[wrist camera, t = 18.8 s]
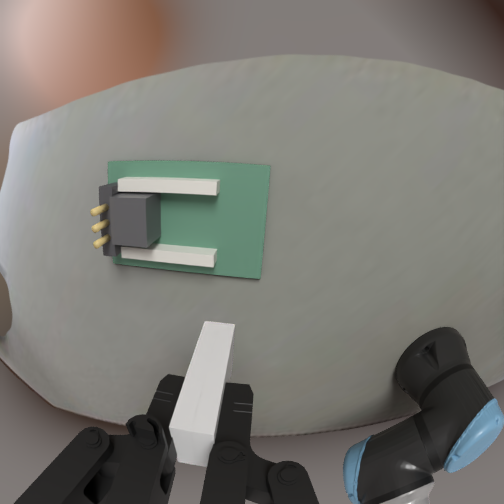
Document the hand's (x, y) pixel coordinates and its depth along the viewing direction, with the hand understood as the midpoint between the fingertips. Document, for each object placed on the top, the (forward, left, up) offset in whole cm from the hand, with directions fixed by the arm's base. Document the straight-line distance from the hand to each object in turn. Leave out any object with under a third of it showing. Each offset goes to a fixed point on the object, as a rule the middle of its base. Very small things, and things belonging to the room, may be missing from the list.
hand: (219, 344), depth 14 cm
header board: (0, +9, -24) cm, 26 cm away
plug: (0, +14, -24) cm, 28 cm away
